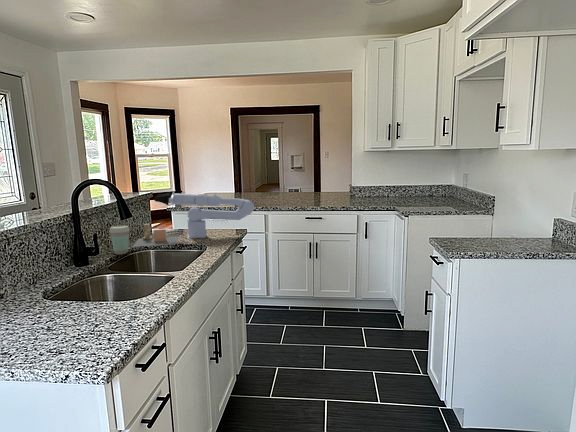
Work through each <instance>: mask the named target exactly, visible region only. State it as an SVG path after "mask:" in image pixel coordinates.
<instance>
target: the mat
mask: <svg viewBox="0 0 576 432" xmlns="http://www.w3.org/2000/svg"><path fill="white" fill-rule="evenodd" d="M178 239H179V236H167V241H159V242H154V237H152V240H143V238H138V239H137V240H136V241H135V242H134V244H132V246H131V247H132V248H135V247H138V248H139V247H150V246H151V247H152V246H168V245H169V246H170V245H176V244H177V241H178Z"/></svg>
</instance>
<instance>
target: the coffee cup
mask: <svg viewBox="0 0 576 432" xmlns="http://www.w3.org/2000/svg"><path fill="white" fill-rule="evenodd" d="M109 234H110V239H111V245H112V248H113V253H114V255H126V254H128V253H129V248H130V247H129V244H130V227H129V225H112V226H111V227H110V228H109Z"/></svg>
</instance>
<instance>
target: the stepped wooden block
mask: <svg viewBox="0 0 576 432" xmlns="http://www.w3.org/2000/svg"><path fill="white" fill-rule="evenodd" d="M150 224H151V223H144V224H143V229H144V230H143V232H144V236H143V238H142V239H143V240H152V238H153V235H152V236H151V227H150V226H151V225H150Z"/></svg>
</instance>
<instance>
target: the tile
mask: <svg viewBox="0 0 576 432" xmlns="http://www.w3.org/2000/svg"><path fill="white" fill-rule="evenodd" d="M167 237H168V235H167V228H158V229H157V228H156V229H153V238H154V242H159V241H167Z"/></svg>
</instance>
